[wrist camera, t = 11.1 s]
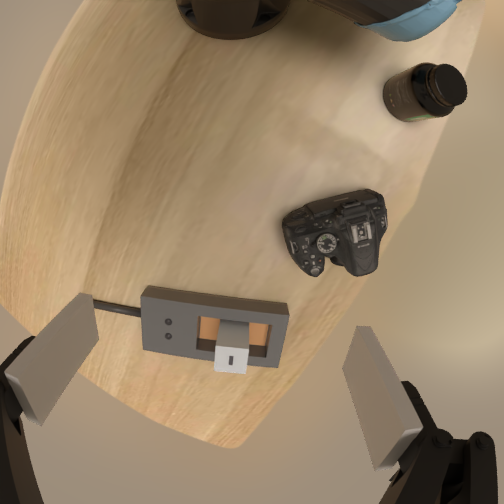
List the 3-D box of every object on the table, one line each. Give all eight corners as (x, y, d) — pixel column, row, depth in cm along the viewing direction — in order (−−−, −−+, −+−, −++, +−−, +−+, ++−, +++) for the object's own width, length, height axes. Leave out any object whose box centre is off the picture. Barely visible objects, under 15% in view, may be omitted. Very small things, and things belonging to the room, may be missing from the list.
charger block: (221, 313, 43) (215, 345, 35) (249, 316, 43) (249, 349, 35) (219, 337, 44) (213, 371, 36) (246, 340, 44) (245, 374, 36)
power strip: (81, 322, 44) (71, 333, 41) (75, 273, 42) (63, 281, 38) (276, 354, 45) (278, 368, 42) (286, 303, 43) (289, 315, 39)
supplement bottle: (412, 131, 36) (463, 127, 24) (374, 102, 35) (417, 85, 23) (429, 96, 34) (480, 83, 22) (393, 67, 33) (438, 43, 21)
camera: (312, 279, 42) (329, 314, 32) (269, 224, 40) (275, 245, 30) (387, 222, 39) (422, 241, 30) (349, 163, 37) (379, 166, 28)
